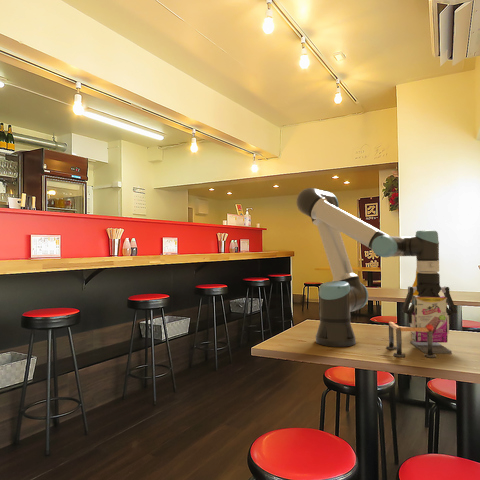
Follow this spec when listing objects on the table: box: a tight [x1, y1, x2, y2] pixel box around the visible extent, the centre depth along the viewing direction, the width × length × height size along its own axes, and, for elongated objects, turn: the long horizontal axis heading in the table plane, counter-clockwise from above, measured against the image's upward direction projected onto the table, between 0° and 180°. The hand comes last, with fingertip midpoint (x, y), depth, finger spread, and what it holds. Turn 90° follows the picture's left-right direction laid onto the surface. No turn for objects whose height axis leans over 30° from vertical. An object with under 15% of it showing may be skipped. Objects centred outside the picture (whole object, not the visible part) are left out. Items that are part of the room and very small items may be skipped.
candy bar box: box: [411, 295, 448, 343], centre depth 143 cm, size 11×5×16 cm, turn 84°
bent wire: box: [385, 321, 437, 359], centre depth 137 cm, size 14×14×11 cm
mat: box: [410, 340, 453, 354], centre depth 142 cm, size 9×15×1 cm, turn 173°
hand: (429, 332), depth 143 cm, fingers closed on candy bar box, 11 cm apart
